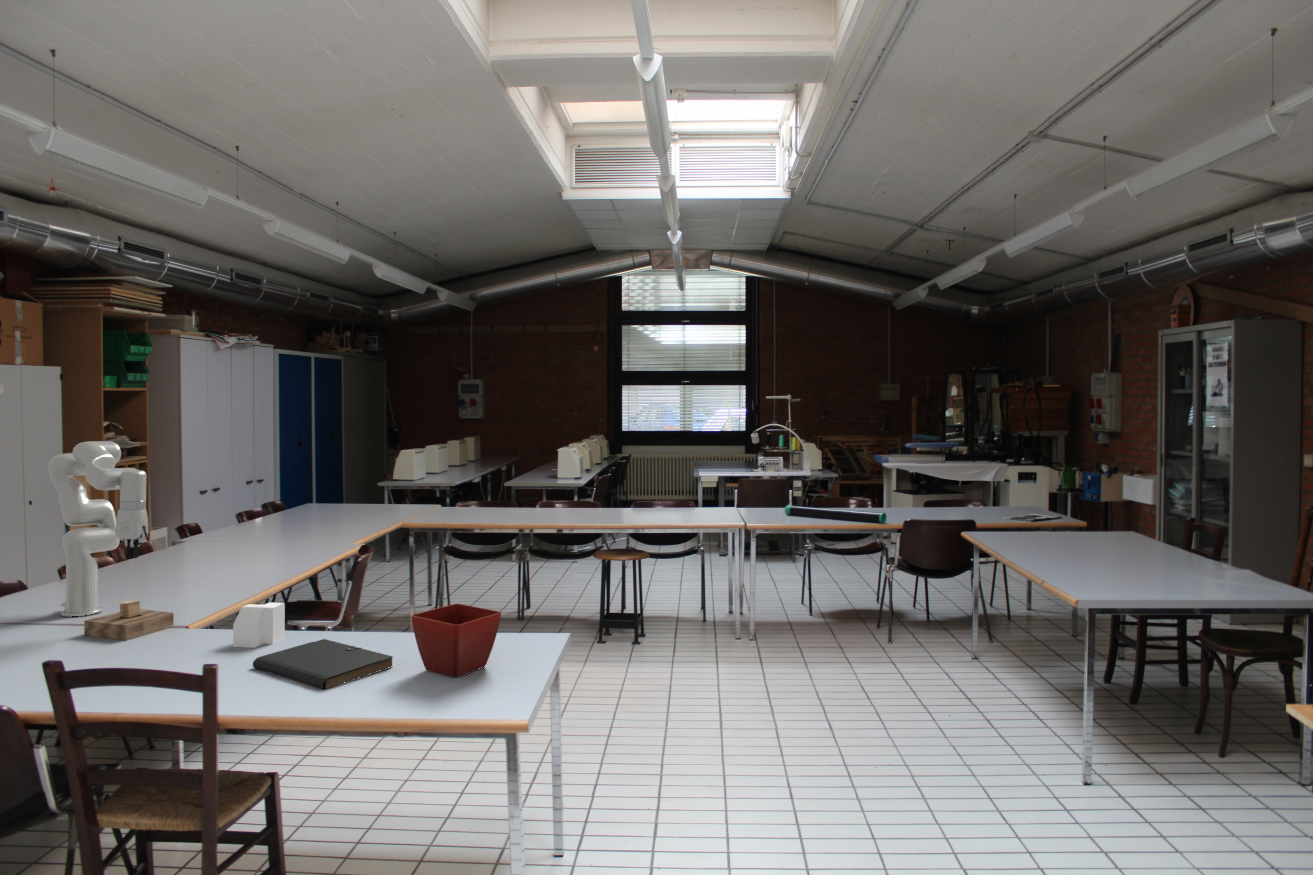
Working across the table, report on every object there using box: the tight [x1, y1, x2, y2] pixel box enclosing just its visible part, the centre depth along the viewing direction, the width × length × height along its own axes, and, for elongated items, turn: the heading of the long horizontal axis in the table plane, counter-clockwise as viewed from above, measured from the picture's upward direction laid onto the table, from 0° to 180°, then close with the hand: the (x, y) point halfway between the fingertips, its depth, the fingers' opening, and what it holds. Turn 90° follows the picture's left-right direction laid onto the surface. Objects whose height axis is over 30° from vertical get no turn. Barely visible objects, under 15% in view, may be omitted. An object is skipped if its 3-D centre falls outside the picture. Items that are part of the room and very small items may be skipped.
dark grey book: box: [252, 638, 394, 691], centre depth 233 cm, size 33×4×24 cm
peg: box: [119, 600, 141, 619], centre depth 268 cm, size 4×4×10 cm
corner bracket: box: [232, 601, 286, 649], centre depth 257 cm, size 11×11×12 cm
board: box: [83, 608, 175, 641], centre depth 268 cm, size 18×18×5 cm
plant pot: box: [411, 603, 502, 679], centre depth 233 cm, size 19×19×17 cm
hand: (132, 557), depth 272 cm, fingers closed
